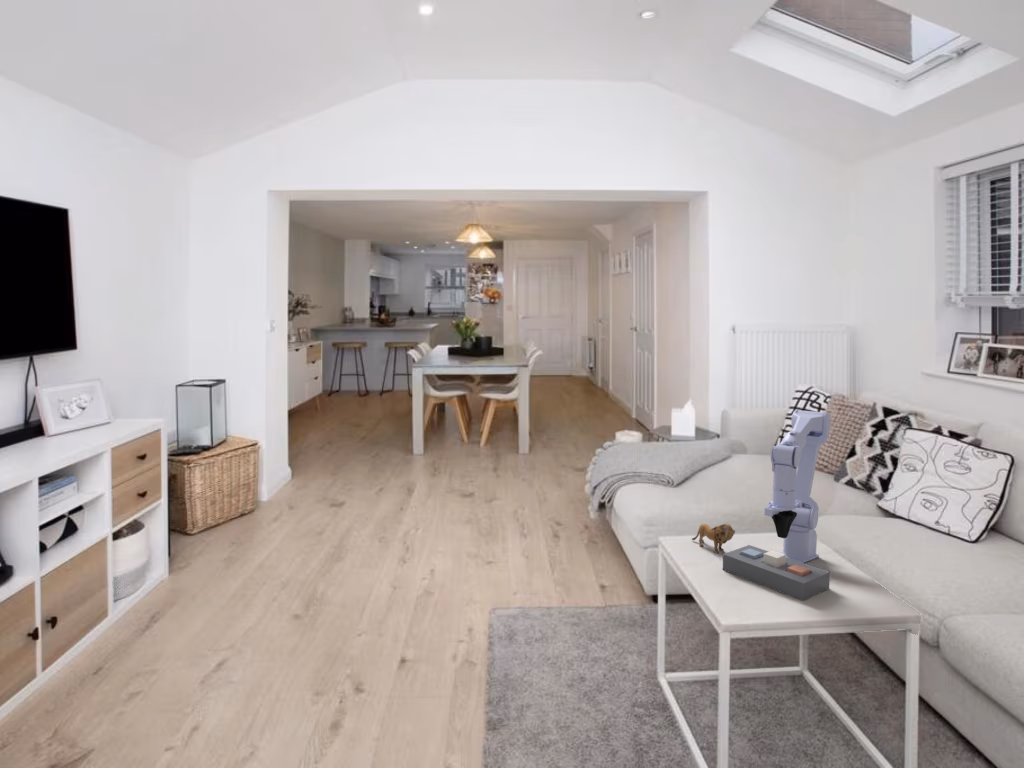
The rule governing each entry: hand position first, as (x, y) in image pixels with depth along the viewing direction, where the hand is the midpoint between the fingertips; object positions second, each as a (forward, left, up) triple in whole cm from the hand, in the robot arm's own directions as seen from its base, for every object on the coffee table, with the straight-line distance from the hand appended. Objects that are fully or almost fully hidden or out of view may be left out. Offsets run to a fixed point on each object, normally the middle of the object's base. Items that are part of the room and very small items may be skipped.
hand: (782, 537), depth 173 cm
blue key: (+5, -6, -8) cm, 11 cm away
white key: (+5, +1, -6) cm, 8 cm away
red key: (+5, +8, -8) cm, 12 cm away
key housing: (+5, +1, -10) cm, 11 cm away
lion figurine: (-1, -23, -11) cm, 26 cm away
